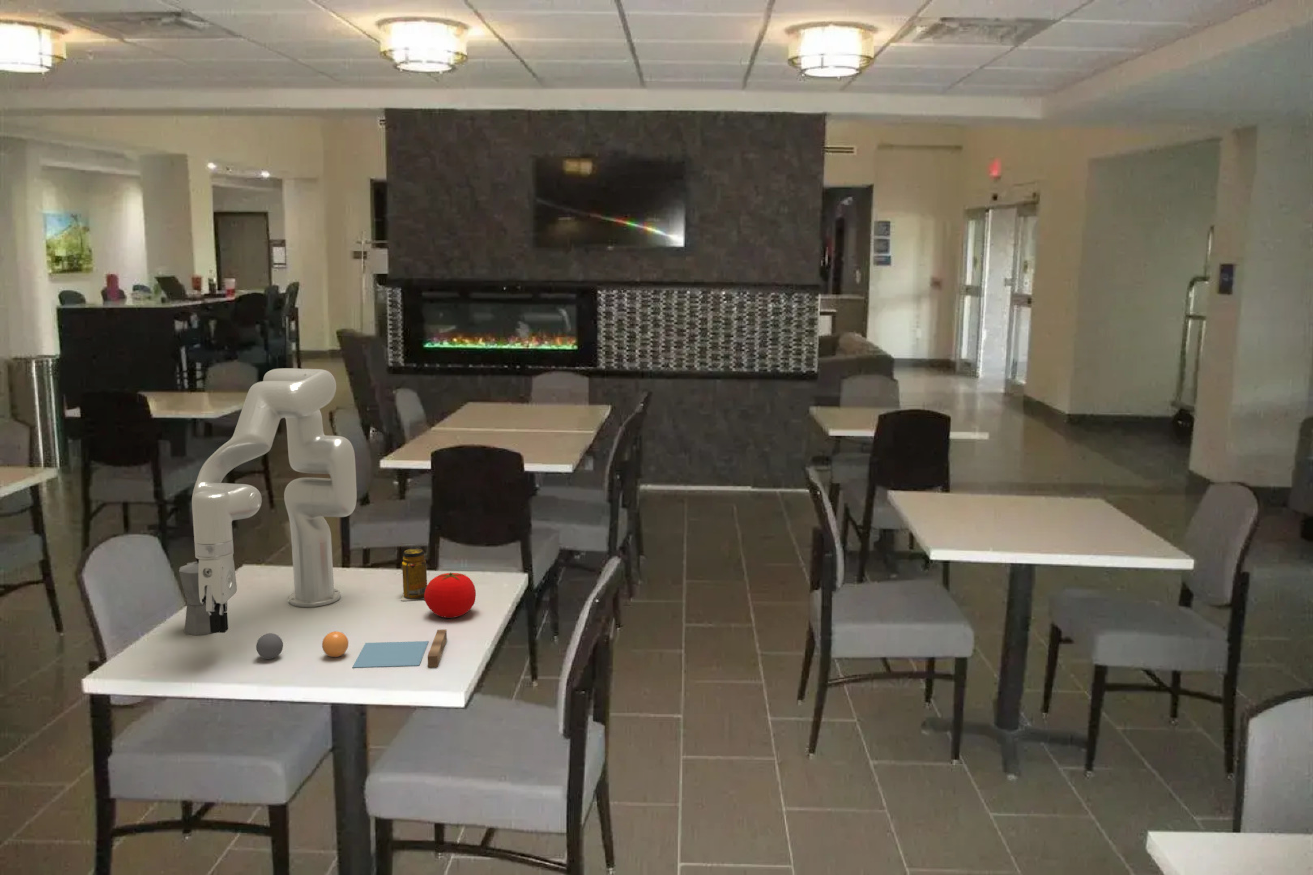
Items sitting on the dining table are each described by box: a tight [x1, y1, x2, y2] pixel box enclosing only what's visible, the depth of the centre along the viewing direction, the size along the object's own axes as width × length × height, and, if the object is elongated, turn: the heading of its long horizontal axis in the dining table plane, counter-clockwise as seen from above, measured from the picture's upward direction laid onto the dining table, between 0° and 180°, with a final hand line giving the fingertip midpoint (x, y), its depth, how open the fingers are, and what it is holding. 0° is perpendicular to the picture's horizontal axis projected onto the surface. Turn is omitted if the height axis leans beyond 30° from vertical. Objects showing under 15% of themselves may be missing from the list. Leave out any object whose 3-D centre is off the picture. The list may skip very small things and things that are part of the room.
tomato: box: [423, 572, 477, 618], centre depth 252 cm, size 11×12×10 cm
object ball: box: [321, 630, 349, 658], centre depth 226 cm, size 6×6×6 cm
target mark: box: [352, 640, 429, 669], centre depth 227 cm, size 14×14×1 cm
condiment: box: [400, 548, 428, 602], centre depth 266 cm, size 7×8×12 cm
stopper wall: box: [427, 629, 448, 668], centre depth 228 cm, size 16×2×2 cm, turn 4°
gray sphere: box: [255, 632, 284, 660], centre depth 225 cm, size 6×6×6 cm
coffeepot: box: [178, 557, 212, 636], centre depth 241 cm, size 15×9×18 cm, turn 43°
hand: (219, 631), depth 223 cm, fingers closed
